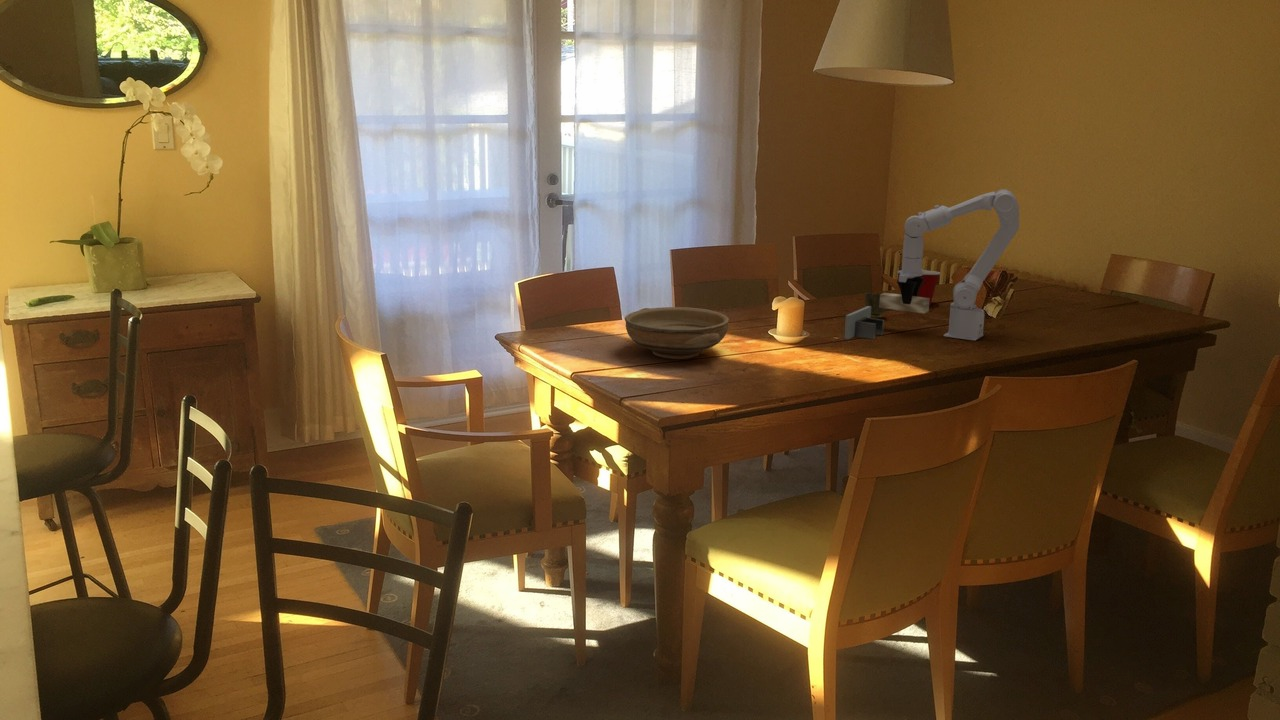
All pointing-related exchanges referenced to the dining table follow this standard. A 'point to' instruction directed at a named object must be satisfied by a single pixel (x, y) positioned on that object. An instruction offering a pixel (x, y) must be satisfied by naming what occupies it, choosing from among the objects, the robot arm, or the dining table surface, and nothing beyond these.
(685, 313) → the ceramic bowl
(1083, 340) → the dining table surface
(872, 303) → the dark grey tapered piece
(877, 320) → the bracket
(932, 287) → the plastic cup
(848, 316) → the backboard
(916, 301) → the rail
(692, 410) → the dining table surface
